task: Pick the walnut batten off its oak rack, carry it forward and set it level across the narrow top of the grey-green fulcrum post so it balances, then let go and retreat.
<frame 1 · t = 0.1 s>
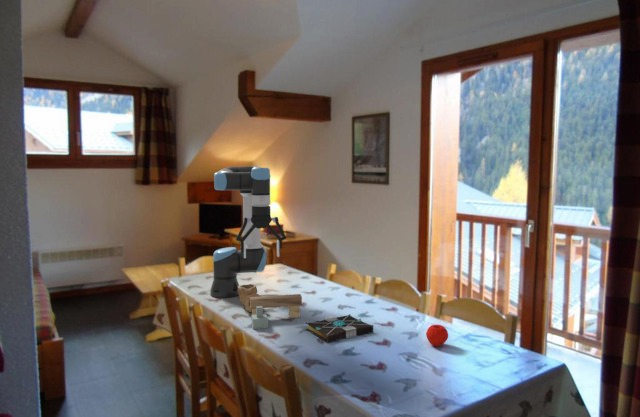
hand: (261, 257, 196), 28 cm above the table, fingers open, 13 cm apart
fulcrum: (259, 326, 194), on the table
pipe: (249, 309, 218), on the table
book: (339, 332, 189), on the table
rack: (275, 317, 206), on the table
apple: (436, 345, 174), on the table
rod: (275, 305, 206), point 5 cm above the table, touching rack
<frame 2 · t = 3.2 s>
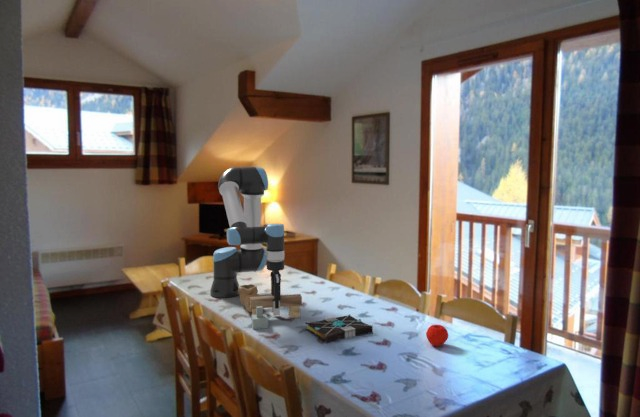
hand: (275, 313, 206), 2 cm above the table, fingers closed on rod, 4 cm apart
rod: (275, 305, 206), point 5 cm above the table, touching gripper
everything else where it was.
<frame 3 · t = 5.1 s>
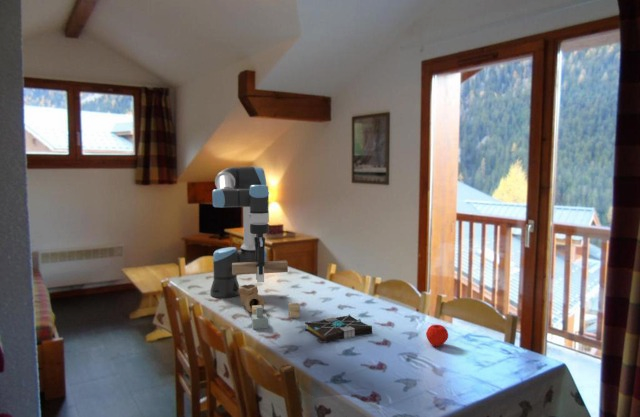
hand: (260, 280, 193), 19 cm above the table, fingers closed on rod, 4 cm apart
rod: (260, 272, 193), point 22 cm above the table, touching gripper
everything else where it was.
when the fingers open (5 cm above the table, at t = 7.2 s): rod stays where it is, resting on fulcrum.
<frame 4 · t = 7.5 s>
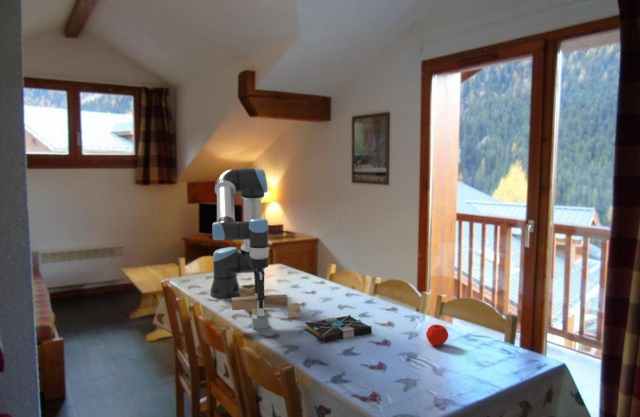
hand: (259, 312, 194), 6 cm above the table, fingers open, 8 cm apart
rod: (259, 306, 194), point 8 cm above the table, touching fulcrum
everything else where it was.
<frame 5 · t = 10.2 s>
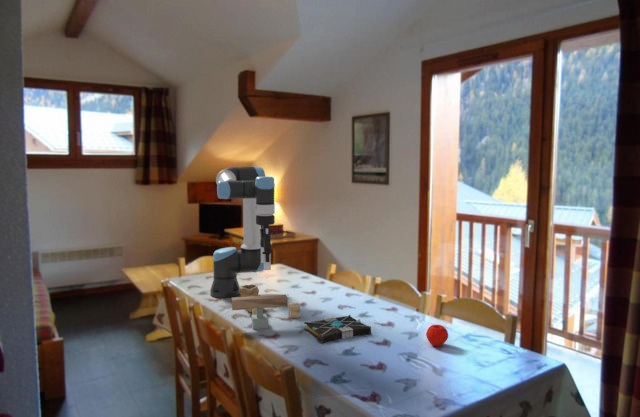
hand: (265, 266, 195), 24 cm above the table, fingers open, 13 cm apart
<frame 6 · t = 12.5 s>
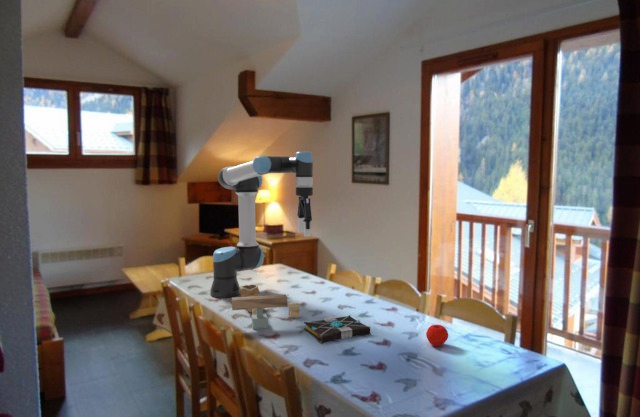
hand: (304, 234, 213), 35 cm above the table, fingers open, 13 cm apart
at the end: rod 0.0 cm off-centre on the fulcrum, point 8.0 cm above the fulcrum's base; rod tilted 0°; rod touching fulcrum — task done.
